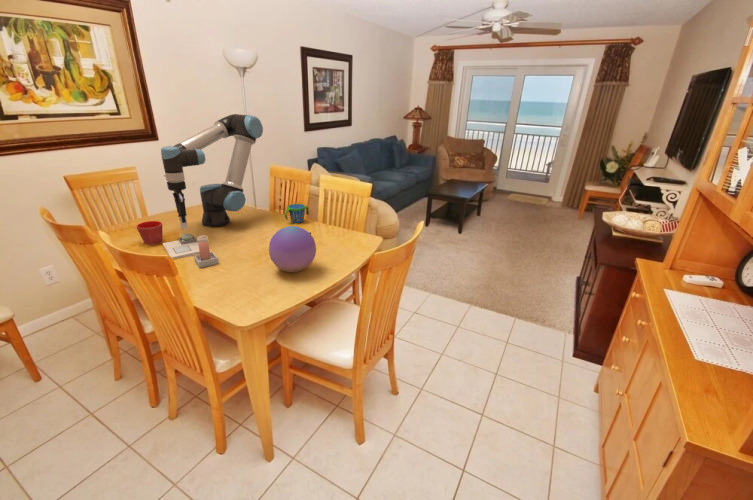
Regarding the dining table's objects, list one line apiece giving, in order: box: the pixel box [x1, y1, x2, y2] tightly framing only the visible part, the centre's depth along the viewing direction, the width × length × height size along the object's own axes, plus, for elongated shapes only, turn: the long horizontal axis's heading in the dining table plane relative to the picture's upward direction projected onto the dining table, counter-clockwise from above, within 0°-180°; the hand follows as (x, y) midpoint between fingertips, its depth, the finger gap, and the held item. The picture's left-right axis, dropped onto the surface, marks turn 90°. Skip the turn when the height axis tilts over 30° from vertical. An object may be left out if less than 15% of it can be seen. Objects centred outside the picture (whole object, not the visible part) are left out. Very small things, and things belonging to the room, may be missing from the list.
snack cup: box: [284, 203, 310, 224], centre depth 208 cm, size 16×10×10 cm
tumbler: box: [196, 234, 211, 261], centre depth 151 cm, size 4×4×12 cm
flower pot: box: [135, 220, 164, 246], centre depth 171 cm, size 11×11×10 cm
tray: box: [193, 251, 220, 269], centre depth 154 cm, size 8×8×3 cm
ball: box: [268, 225, 317, 273], centre depth 148 cm, size 20×20×20 cm
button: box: [180, 232, 193, 240], centre depth 172 cm, size 5×5×2 cm
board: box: [162, 234, 200, 260], centre depth 166 cm, size 14×20×3 cm
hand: (184, 228), depth 170 cm, fingers closed
